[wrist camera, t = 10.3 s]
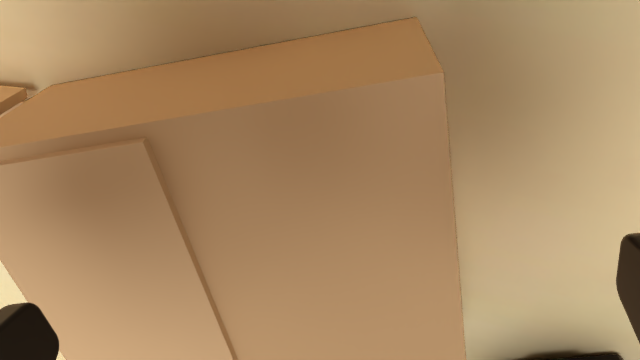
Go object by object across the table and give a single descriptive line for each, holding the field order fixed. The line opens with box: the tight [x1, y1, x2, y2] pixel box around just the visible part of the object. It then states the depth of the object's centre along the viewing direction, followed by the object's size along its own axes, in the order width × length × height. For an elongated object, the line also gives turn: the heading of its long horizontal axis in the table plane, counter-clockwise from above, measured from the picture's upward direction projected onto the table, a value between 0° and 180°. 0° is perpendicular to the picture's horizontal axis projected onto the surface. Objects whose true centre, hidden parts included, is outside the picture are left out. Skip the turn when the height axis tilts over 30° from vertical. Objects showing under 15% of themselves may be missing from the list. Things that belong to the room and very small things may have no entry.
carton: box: [0, 17, 466, 360], centre depth 21 cm, size 20×19×6 cm
